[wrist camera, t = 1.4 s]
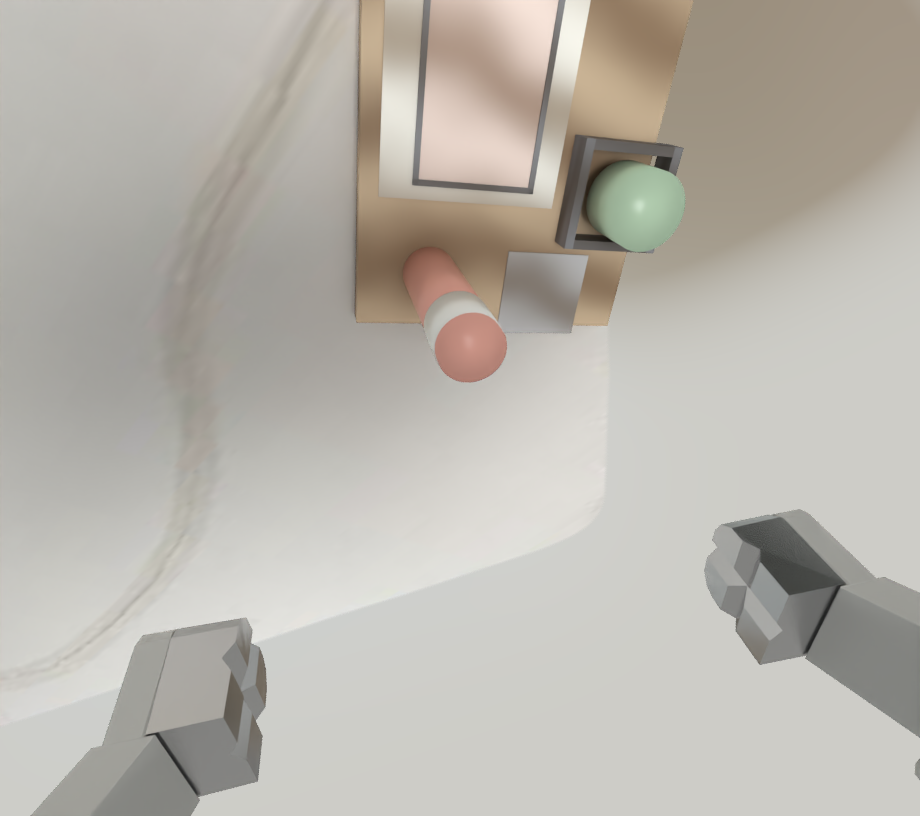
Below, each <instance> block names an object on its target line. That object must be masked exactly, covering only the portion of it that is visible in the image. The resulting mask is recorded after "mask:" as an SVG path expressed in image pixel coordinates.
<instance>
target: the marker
mask: <svg viewBox="0 0 920 816" xmlns="http://www.w3.org/2000/svg"><path fill="white" fill-rule="evenodd" d="M403 280H404V283H405V286H406V288H407V290H408V293H409V295H410V297H411V300H412V302H413V304H414V307H415V309H416V311H417V314H418V316H419V319H420V321H421V323H422V326H423V328H424V332H425V335H426V338H427V340H428V342H429V345H430V347H431V350H432V352H433V354H434V357H435V359H436V361H437V363H438V365H439V366H440V367H441V369H442V370H443V372H444V373H445V374H446V375H447V376H449V377H450V378H452V379H454V380H456V381H460V382H476V381H479V380H482V379H484V378H486V377H488V376H490V375H491V374H492V373H494V372H495V371H496V370H497V369H498V368H499V366H500V365H501V363H502V362H503V360H504V358H505V355H506V350H507V342H506V337H505V335H504V332H503V330H502V328H501V326H500V324H499V323H498V322H497V320H496V319H495V317H494V316H493V315H492V313H491V312H490V310H489V309H488V308H487V306H486V305H485V303H484V302H483V301H482V300H481V299H480V298H479V297H478V295H477V294H476V293H475V291H474V290H473V288H472V287H471V285H470V284H469V283H468V281H467V280H466V278H465V277H464V276H463V274H462V273H461V271H460V270H459V268H458V267H457V266H456V264H455V263H454V261H453V260H452V259H451V257H450V256H449V255H448V254H447V253H446V252H445V251H443V250H442V249H439V248H436V247H424V248H420V249H418V250H416V251H415V252H413V253H412V254H411V255H410V256H409V257H408V259H407V260H406V262H405V264H404V267H403Z"/></svg>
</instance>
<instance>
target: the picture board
mask: <svg viewBox="0 0 920 816" xmlns="http://www.w3.org/2000/svg"><path fill="white" fill-rule="evenodd" d="M693 1H694V0H360V7H359V76H358V145H357V214H356V283H355V317H356V322H357V323H421V321H420V319H419V316H418V314H417V311H416V309H415V307H414V304H413V302H412V300H411V297H410V295H409V293H408V290H407V288H406V286H405V283H404V280H403V267H404V264H405V262H406V260H407V259H408V257H409V256H410V255H411V254H412V253H413V252H415V251H416V250H418V249H420V248H424V247H436V248H439V249H442V250H443V251H445V252H446V253H447V254H448V255H449V256H450V257H451V259H452V260H453V261H454V263H455V264H456V266H457V267H458V268H459V270H460V271H461V273H462V274H463V276H464V277H465V278H466V280H467V281H468V283H469V284H470V285H471V287H472V288H473V290H474V291H475V293H476V294H477V295H478V297H479V298H480V299H481V300H482V301H483V302H484V303H485V305H486V306H487V308H488V309H489V310H490V312H491V313H492V315H493V316H494V317H495V319H496V320H497V322H498V323H499V324H500V326H501V328H502V330H503V332H504V333H571V330H572V326H573V325H586V326H607V325H608V321H609V317H610V314H611V310H612V306H613V302H614V298H615V295H616V291H617V287H618V283H619V280H620V276H621V272H622V268H623V264H624V260H625V257H626V253H627V252H633V251H630V250H627V249H625V248H624V247H622V246H620V245H619V244H617V243H615V242H614V241H612V240H611V239H609V238H607V237H606V236H604V235H602V234H601V233H599V232H598V231H596V230H595V229H594V228H593V226H592V225H591V223H590V221H589V219H588V216H587V209H586V203H587V196H588V193H589V190H590V187H591V185H592V183H593V182H594V180H595V179H596V177H597V176H598V175H599V174H600V173H601V172H602V171H603V170H604V169H605V168H606V167H608V166H609V165H611V164H613V163H615V162H618V161H621V160H634V161H638V162H641V163H644V164H647V165H650V163H651V159H652V155H653V156H657V159H656V162H655V166H654V167H656V168H659V169H662V170H665V171H668V172H670V173H672V174H673V175H675V176H676V173H677V169H678V166H679V163H680V159H681V156H682V152H683V149H684V148H681V147H677V146H673V145H669V144H661V143H656V140H657V136H658V132H659V128H660V125H661V121H662V117H663V114H664V110H665V106H666V103H667V98H668V95H669V91H670V87H671V83H672V80H673V76H674V72H675V69H676V65H677V61H678V57H679V53H680V50H681V46H682V42H683V38H684V35H685V31H686V27H687V23H688V20H689V15H690V12H691V8H692V4H693ZM654 249H655V248H654ZM654 249H652V250H649V251H645V252H638V253H653V252H654Z"/></svg>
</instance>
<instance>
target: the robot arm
mask: <svg viewBox="0 0 920 816" xmlns="http://www.w3.org/2000/svg"><path fill="white" fill-rule="evenodd" d="M712 541H713V542H714V543H715V544H716V546H717V548H716V549H715V550H714V551H713V552H712V553H711V554H710V555H709V556H708V557H707V561H706V565H705V570H704V571H705V577H706V583H707V586H708V589H709V591H710V593H711V596H712V597H713V599H714V600H715V602H716V603H717V605H718V606H719V608H720V609H721V610H723V611H724V612H726V613H728V614H730V615H731V616H733V617H735V618H736V632H737V634H738V635H739V636H740V638H741V639H742V641H743V642H744V643H745V645H746V646H747V648H748V649H749V651H750V652H751V653H752V655H753V656H754V658H755V659H756V660H757V661H758V663H759V664H760V665H761V664H766V663H771V662H776V661H781V660H786V659H791V658H796V657H801V656H806V655H807V656H806V658H805V659H807V660H808V661H810V662H811V663H813V664H814V665H816V666H817V667H819V668H820V669H821V670H823V671H824V672H826V673H827V674H829V675H830V676H832V677H833V678H834V679H836V680H837V681H839V682H840V683H842V684H843V685H844V686H846V687H847V688H849V689H850V690H852V691H853V692H855V693H856V694H858V695H859V696H860V697H862V698H863V699H865V700H866V701H868V702H869V703H871V704H872V705H873V706H875V707H876V708H878V709H879V710H881V711H882V712H883V713H885V714H886V715H888V716H889V717H891V718H892V719H894V720H895V721H897V722H898V723H900V724H901V725H902V726H904V727H905V728H907V729H908V730H909V731H911V732H912V733H914V734H915V735H917V736H918V737H920V593H919V592H917V591H914V590H912V589H910V588H908V587H906V586H903V585H901V584H899V583H897V582H895V581H892V580H890V579H888V578H886V577H882V578H875V577H874V576H873V575H872V574H871V573H870V572H869V571H868V570H867V569H866V568H865V567H864V566H863V565H862V564H861V563H860V562H859V561H858V560H857V559H856V558H854V557H853V555H852V554H851V553H849V552H848V551H847V550H846V549H845V548H844V547H843V546H842V545H841V544H840V543H839V542H838V541H837V540H836V539H835V538H834V537H833V536H832V535H831V534H830V533H829V532H828V531H827V530H825V529H824V528H823V527H822V526H821V525H820V524H819V523H818V522H817V521H816V520H815V519H814V518H813V517H812V516H811V515H810V514H808V513H806V512H804V511H802V510H794V511H789V512H783V513H778V514H773V515H765V516H760V517H755V518H750V519H746V520H741V521H736V522H731V523H727V524H722V525H720V526H719V527H718V528H717V529H716V530H715V532H714V536H713V539H712ZM251 638H252V628H251V626H250V624H249V622H248V620H247V618H240V619H234V620H228V621H222V622H216V623H210V624H204V625H198V626H193V627H187V628H181V629H175V630H170V631H164V632H159V633H153V634H148V635H143V636H142V637H141V639H140V640H139V641H138V643H137V644H136V646H135V647H134V650H133V653H132V656H131V659H130V662H129V666H128V669H127V672H126V675H125V678H124V681H123V684H122V687H121V690H120V693H119V696H118V699H117V702H116V705H115V708H114V711H113V714H112V717H111V720H110V723H109V726H108V729H107V733H106V735H105V738H104V741H103V745H102V746H99V747H95V748H91V749H90V750H89V751H88V752H87V753H86V755H85V756H84V757H83V758H82V759H81V760H80V761H79V762H78V763H77V765H76V766H75V767H74V768H73V769H72V770H71V771H70V772H69V773H68V775H67V776H66V777H65V778H64V779H63V780H62V781H61V782H60V784H59V785H58V786H57V787H56V788H55V789H54V790H53V792H51V794H50V795H49V796H48V797H47V798H46V799H45V800H44V801H43V803H42V804H41V805H40V806H39V807H38V808H37V809H36V810H35V811H34V813H33V814H32V815H31V816H191V814H192V813H193V811H194V809H195V808H196V806H197V804H198V802H199V801H200V800H199V798H198V797H200V796H204V795H208V794H211V793H215V792H219V791H223V790H226V789H231V788H234V787H238V786H242V785H246V784H250V783H254V782H257V781H258V775H259V764H260V755H261V746H262V734H261V731H260V729H259V727H258V725H257V723H256V719H257V718H258V717H259V715H260V714H261V712H262V711H263V710H264V708H265V703H266V692H267V683H266V668H265V663H264V658H263V655H262V653H261V650H260V648H259V647H258V646H256V645H254V644H252V643H251ZM915 775H916V776H917V777H918V778H919V780H920V759H919V760H918V761H917V763H916V765H915Z"/></svg>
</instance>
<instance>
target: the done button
mask: <svg viewBox="0 0 920 816" xmlns="http://www.w3.org/2000/svg"><path fill="white" fill-rule="evenodd" d="M586 209H587V216H588V219H589V221H590V223H591V225H592V226H593V228H594V229H595V230H596V231H598V232H599V233H601V234H602V235H604V236H606V237H607V238H609V239H611V240H612V241H614V242H615V243H617V244H619V245H620V246H622V247H624V248H625V249H627V250H630V251H633V252H645V251H649V250H652V249H654V248H656V247H658V246H660V245H661V244H663V243H664V242H665V241H666V240H668V239H669V238H670V237H671V235H672V234H673V233H674V231H675V230H676V228H677V227H678V225H679V223H680V221H681V219H682V216H683V213H684V209H685V193H684V189H683V186H682V184H681V182H680V181H679V179H678V178H677V177H676V176H675V175H673V174H672V173H670V172H668V171H665V170H662V169H659V168H656V167H653V166H650V165H647V164H644V163H641V162H638V161H634V160H621V161H618V162H615V163H613V164H611V165H609V166H608V167H606V168H605V169H604V170H603V171H602V172H601V173H600V174H599V175H598V176H597V177H596V179H595V180H594V182H593V183H592V185H591V187H590V190H589V193H588V196H587V203H586Z"/></svg>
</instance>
